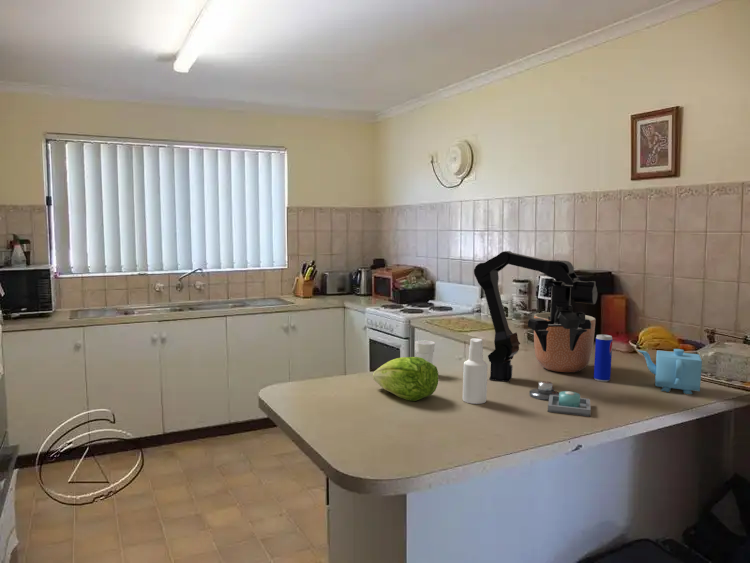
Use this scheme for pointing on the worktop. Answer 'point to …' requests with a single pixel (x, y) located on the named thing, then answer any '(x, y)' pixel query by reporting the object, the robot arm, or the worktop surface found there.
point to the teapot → (676, 370)
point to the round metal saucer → (543, 391)
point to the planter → (564, 348)
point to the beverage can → (603, 358)
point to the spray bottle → (475, 374)
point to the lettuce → (408, 377)
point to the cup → (425, 350)
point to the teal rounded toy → (569, 399)
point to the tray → (582, 411)
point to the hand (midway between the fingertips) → (558, 350)
